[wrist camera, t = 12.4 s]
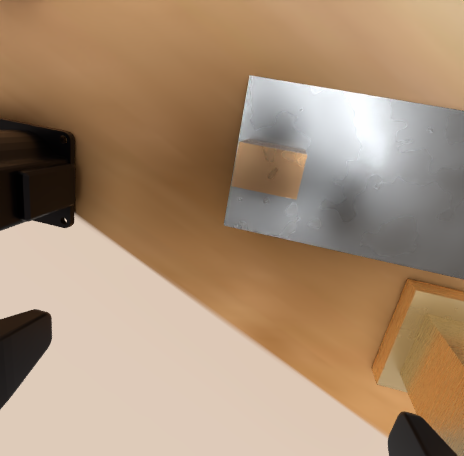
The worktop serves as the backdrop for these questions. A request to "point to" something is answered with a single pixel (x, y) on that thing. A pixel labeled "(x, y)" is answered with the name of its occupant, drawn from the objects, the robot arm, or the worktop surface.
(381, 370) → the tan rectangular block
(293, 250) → the worktop surface
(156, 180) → the worktop surface
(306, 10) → the worktop surface
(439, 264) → the brushed steel slab
